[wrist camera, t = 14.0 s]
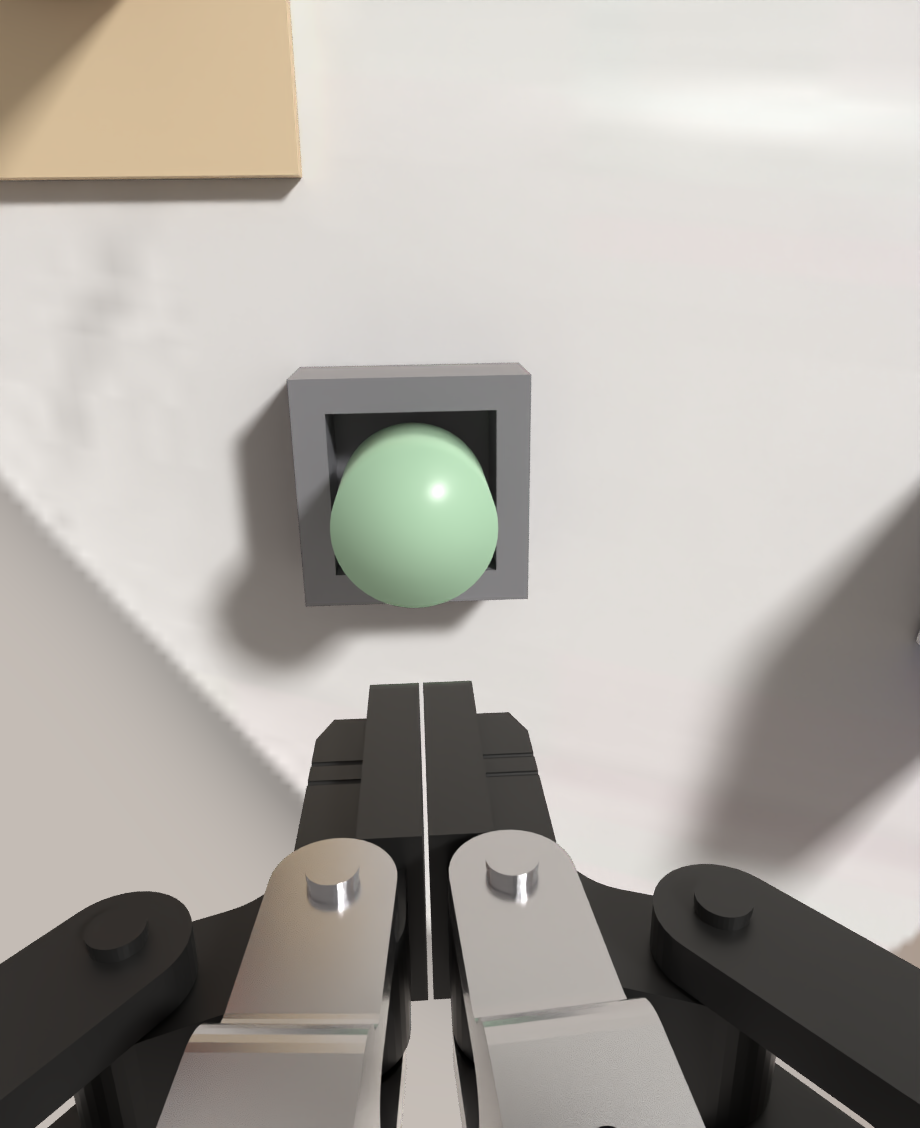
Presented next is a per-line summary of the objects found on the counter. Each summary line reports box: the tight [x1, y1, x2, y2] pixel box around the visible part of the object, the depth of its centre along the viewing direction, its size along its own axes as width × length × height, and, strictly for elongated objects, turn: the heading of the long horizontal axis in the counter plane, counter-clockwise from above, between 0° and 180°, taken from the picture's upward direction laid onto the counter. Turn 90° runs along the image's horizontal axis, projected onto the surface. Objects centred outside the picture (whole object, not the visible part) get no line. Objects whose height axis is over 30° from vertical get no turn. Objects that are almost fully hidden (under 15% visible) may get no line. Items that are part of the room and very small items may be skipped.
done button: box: [330, 422, 498, 608], centre depth 23 cm, size 4×4×4 cm
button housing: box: [287, 363, 531, 606], centre depth 26 cm, size 7×7×3 cm
